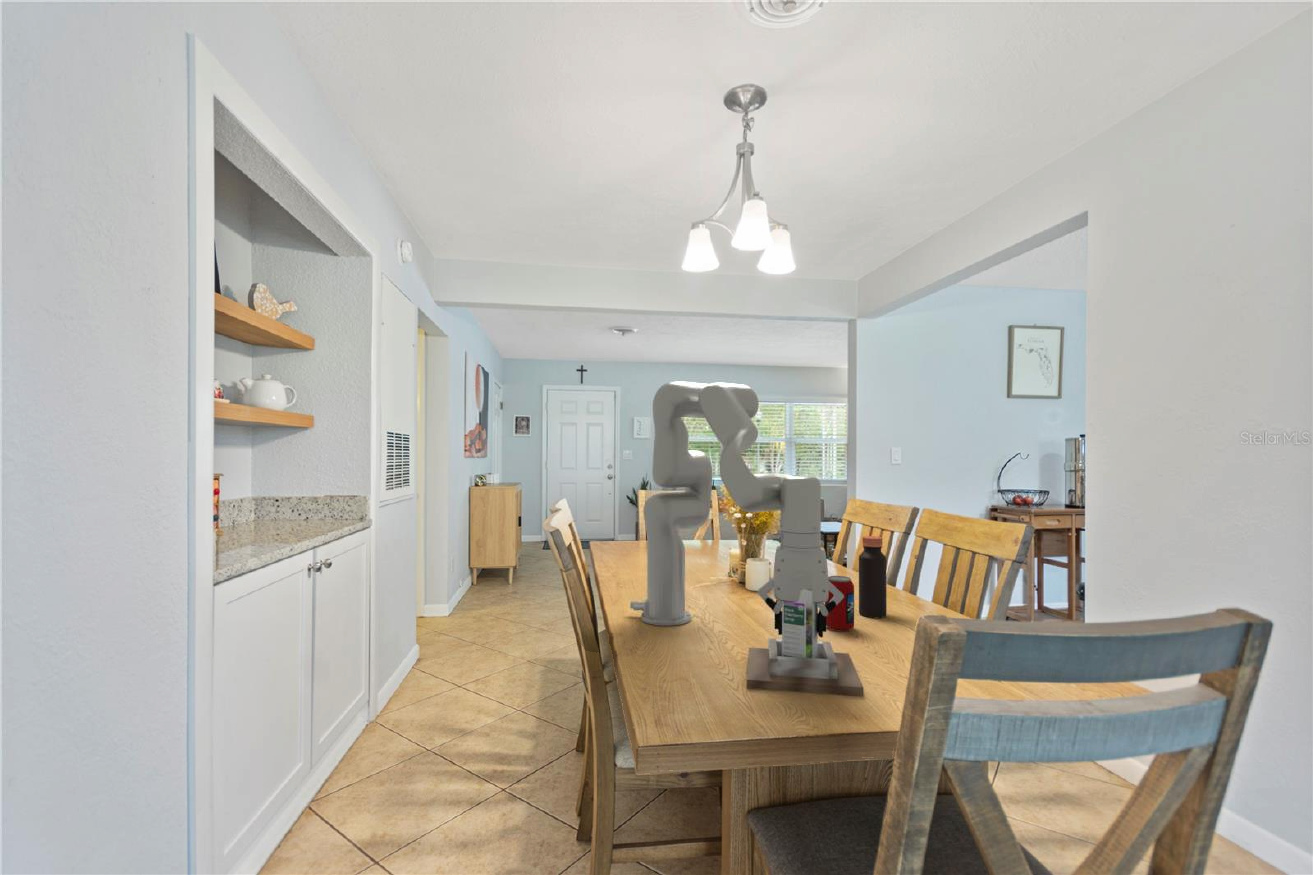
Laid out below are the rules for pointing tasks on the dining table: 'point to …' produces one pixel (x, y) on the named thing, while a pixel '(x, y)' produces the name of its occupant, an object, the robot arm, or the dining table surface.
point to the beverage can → (841, 605)
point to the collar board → (803, 671)
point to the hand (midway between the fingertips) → (800, 633)
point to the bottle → (872, 578)
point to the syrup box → (800, 627)
